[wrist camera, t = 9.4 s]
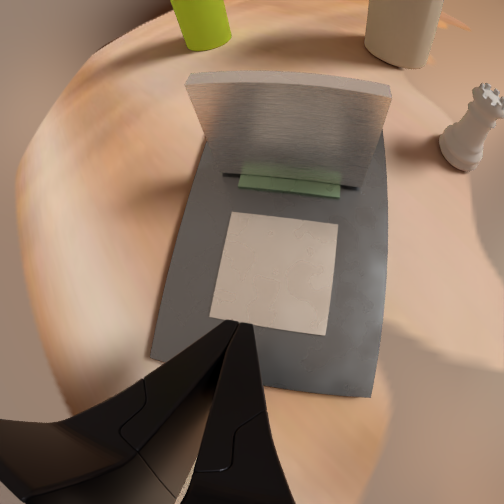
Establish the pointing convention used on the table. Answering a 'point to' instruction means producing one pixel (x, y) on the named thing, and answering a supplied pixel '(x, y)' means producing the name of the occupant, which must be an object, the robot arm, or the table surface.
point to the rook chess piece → (472, 129)
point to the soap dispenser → (202, 23)
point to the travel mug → (402, 30)
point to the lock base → (283, 274)
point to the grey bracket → (290, 123)
